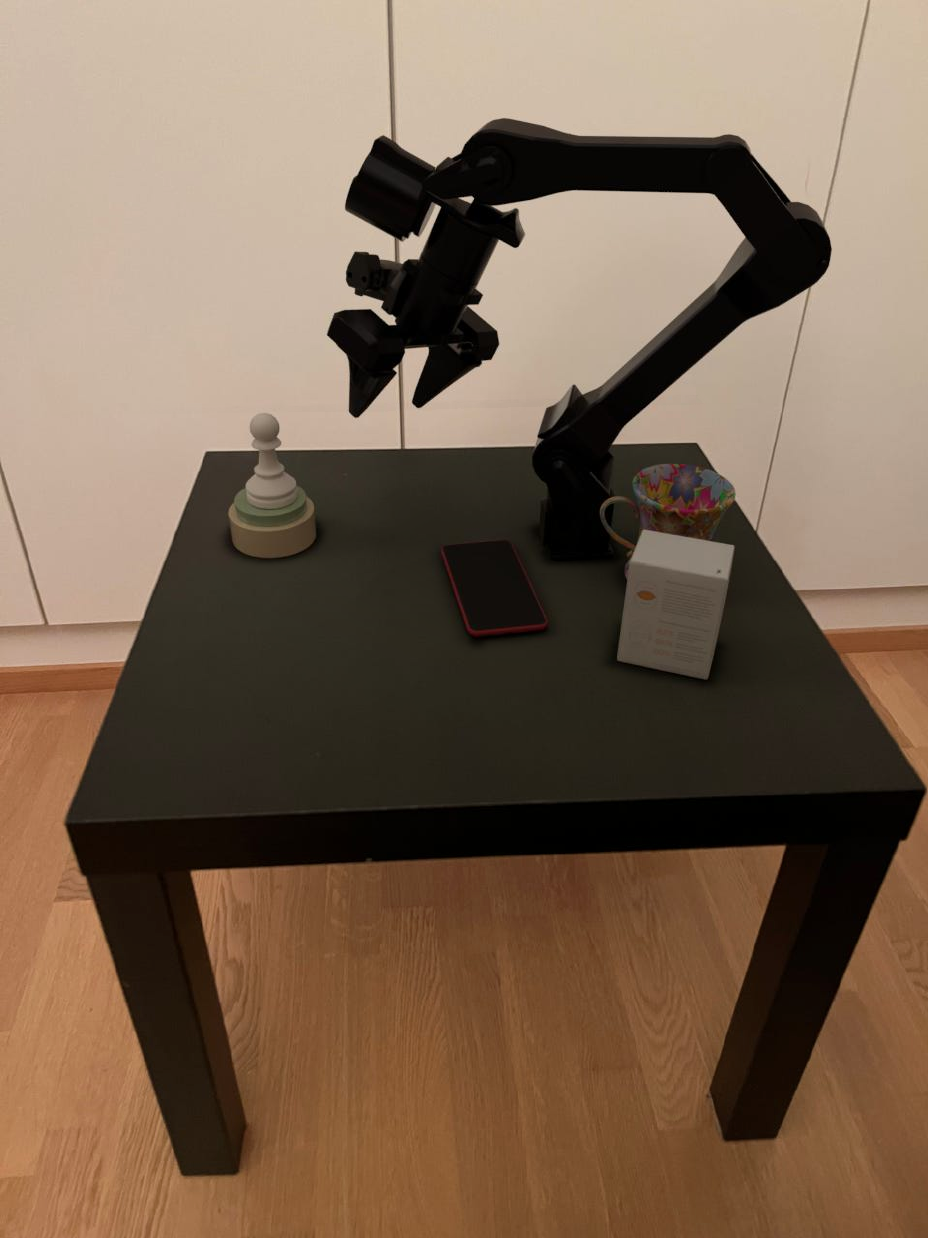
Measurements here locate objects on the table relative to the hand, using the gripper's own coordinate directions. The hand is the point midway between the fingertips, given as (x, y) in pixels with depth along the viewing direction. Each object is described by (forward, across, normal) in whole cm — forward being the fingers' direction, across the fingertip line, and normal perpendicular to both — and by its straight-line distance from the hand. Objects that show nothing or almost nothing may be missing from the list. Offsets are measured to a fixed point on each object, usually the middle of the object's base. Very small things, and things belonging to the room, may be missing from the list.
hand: (385, 410), depth 94 cm
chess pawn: (+12, +8, -3) cm, 15 cm away
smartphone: (+6, +1, +20) cm, 21 cm away
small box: (0, -2, +36) cm, 36 cm away
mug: (0, -11, +30) cm, 31 cm away
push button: (+16, +7, -1) cm, 18 cm away
